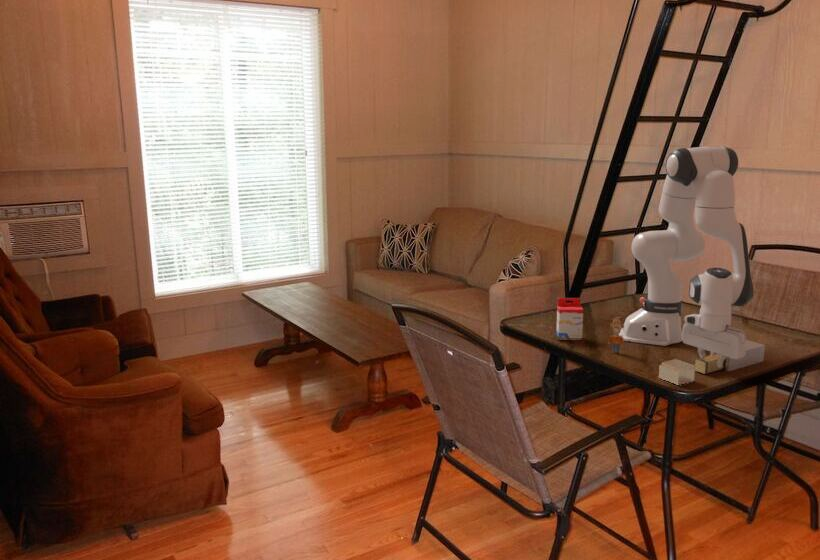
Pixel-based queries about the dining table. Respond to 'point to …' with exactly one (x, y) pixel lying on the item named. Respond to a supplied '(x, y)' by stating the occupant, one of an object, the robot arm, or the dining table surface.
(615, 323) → the toy
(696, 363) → the tan block
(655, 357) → the dining table surface
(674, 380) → the sleeve and socket
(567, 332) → the ink box
